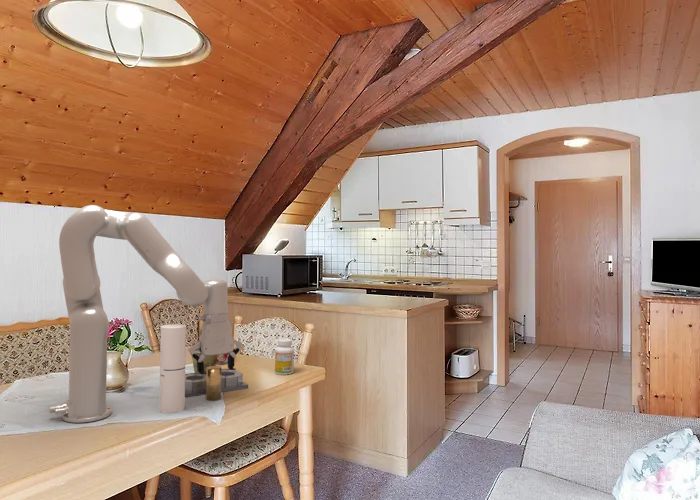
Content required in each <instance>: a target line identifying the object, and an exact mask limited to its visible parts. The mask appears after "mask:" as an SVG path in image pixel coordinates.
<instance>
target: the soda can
mask: <svg viewBox="0 0 700 500" xmlns="http://www.w3.org/2000/svg"><path fill="white" fill-rule="evenodd" d="M224 356H225V357H224V359H223V355H222V354H219V355H218V357H217V362H216V364H217V363H218V362H219V361H220V360H222V359H223V360H222V361H221V362H219V363H218V364H217V365H225V364H228V356H229V354H228V353H227V354H224Z"/></svg>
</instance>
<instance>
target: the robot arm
mask: <svg viewBox="0 0 700 500" xmlns="http://www.w3.org/2000/svg"><path fill="white" fill-rule="evenodd" d="M96 237H101V238H102V237H103V238H108V239H116V240H123V241H127V242H128V243H129V244H130V245H131V246H132V248H133V249H134V250H135V251H136V253H138V255H140V257H141V258H142V259H143V260H144V261H145V263H146V264H147V265H148V266H149V267H150V268H151V269H152V270H153V271H154V272H155V273H157V274H158V275H159V276H160V277H163V279H165V280H166V281H167V282H168V283H169V284H170V286H172V287H173V288H174V289H175V290H176V293H175V294H176V297H177V299H178V300H180V302H182V303H184V304H186V305H187V306H190V307H200V306H203V307H202V308H203V313H202V315H199V316H198V321H202V323H201V325H200V330H199V339H198V342H196V343H195V344H193V345H192V346H190V347H188V352H189V354H190V355H191V358H192V357H193V358H194V359H196V360H197V371H198V372H199V373H200V374H201V375H203V374H204V362H203V361H202V360H203V359H204V358H205V356H212V355H219V354H227V353H228V354H229V356H228V362H227V369H230V370H233V368H235V358H236V356H237V355H238V353H239V352H240V350H241V348H242V345H243V342H241V341H239V340H237V339H234V336H233V328H232V323H231V322H230V321H229V320H228V319H229V318H228V315H229V314H228V313H229V310H228V308H229V307H228V303H229V302H228V301H229V300H228V283H227V281H226V280H224V279H208V280H202V279H201V278H200V277H199V276H198V275H197V274H196V272H195V271H194V270H193V269H192V268H191V266H190V265H188V263H187V262H186V261H185V260H184V259H183V258H182V257H181V255H179V254H178V252H177V251H176V250H175V249H174V248H173V246H171V244H170V242H168V241H167V240H166V238H165V237H164V236H163V235H162V233H160V232H159V230H158V229H157V227H155V225H154V224H153V223H152V222H151V220H149V218H148V217H147V216H146V215H144V214H143V213H141V212H124V211H117V210H111V209H105V208H103V207H102V206H99V205H96V204H88V205H85V206H82V207H81V208H79V209H78V210H76V211H75V212H73V214H71V215H70V217H68V218H67V219H66V221H65V222H64V224H63V226H62V228H61V230H60V234H59V239H58V246H59V247H58V248H59V255H60V264H61V270H62V274H63V278H62V287H63V293H64V298H65V306H66V310H67V315H68V321H69V355H68V356H69V357H68V362H69V363H68V364H69V365H68V366H69V369H68V379H69V380H68V398H67V399H66V402H62V404H55V405H50V406H49V414H52V413H55V415H58V414H61V416H62V417H61V418H62V420H63V421H65V422H67V423H73V424H74V423H75V424H77V423H78V424H79V423H90V422H95V421H96V422H97V421H99V420H102V419H105V418H108V417H109V416H110V415H111V414H112V413H113V408H112V407H111V406H110V405H107V368H108V367H107V365H108V362H107V361H108V360H107V359H108V338H109V336H108V335H109V318H108V315H107V313H106V312H105V310H104V305H103V300H102V294H101V279H100V276H99V273H98V268H97V263H96V257H95V254H96V253H95V248H94V246H95V245H94V243H95V240H96ZM234 345H235V347H234ZM198 348H199V352H200V353H199V354H198V356H197V355H196V353H195V350H196V349H198Z"/></svg>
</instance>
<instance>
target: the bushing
mask: <svg viewBox="0 0 700 500" xmlns="http://www.w3.org/2000/svg"><path fill="white" fill-rule="evenodd" d="M221 369H222V366H220V365H216V366H210V367H207V375H206V394H205V400H206V401H208V402H215V401H216V400H217V401H220V400H221V399H222V397H221V396H222V392H221ZM219 399H220V400H219Z"/></svg>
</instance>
